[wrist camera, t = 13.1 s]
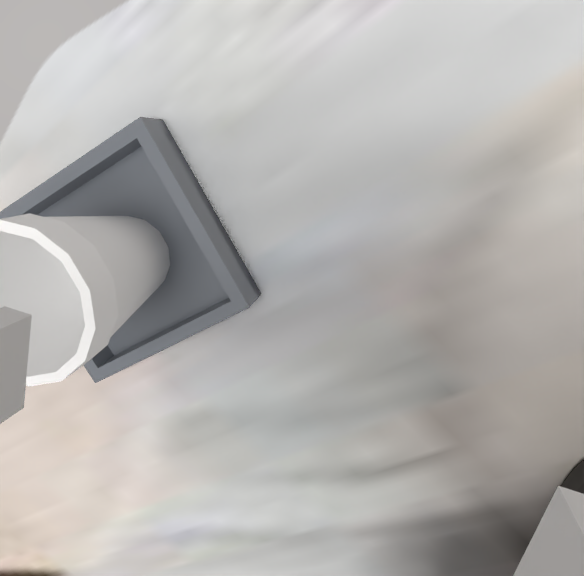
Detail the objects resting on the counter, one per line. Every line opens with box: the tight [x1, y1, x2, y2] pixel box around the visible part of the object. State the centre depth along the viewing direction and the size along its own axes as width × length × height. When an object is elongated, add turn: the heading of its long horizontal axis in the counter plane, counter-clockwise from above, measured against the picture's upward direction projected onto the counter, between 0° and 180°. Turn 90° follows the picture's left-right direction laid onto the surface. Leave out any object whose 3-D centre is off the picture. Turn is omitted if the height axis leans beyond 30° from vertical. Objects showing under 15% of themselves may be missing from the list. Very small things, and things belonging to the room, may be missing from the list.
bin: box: [0, 117, 261, 383], centre depth 38 cm, size 15×15×4 cm
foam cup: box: [0, 213, 170, 386], centre depth 33 cm, size 10×9×13 cm
